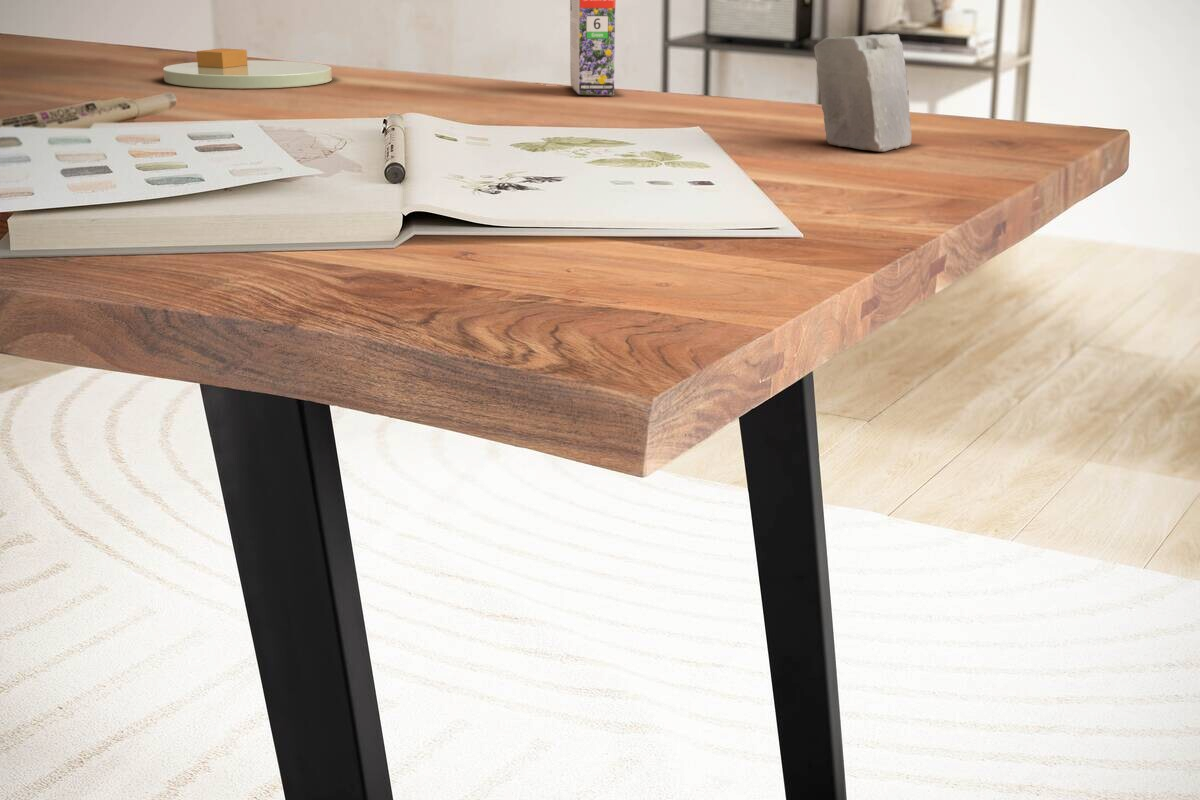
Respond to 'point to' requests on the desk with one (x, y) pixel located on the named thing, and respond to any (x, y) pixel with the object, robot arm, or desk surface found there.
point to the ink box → (592, 46)
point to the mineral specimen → (864, 92)
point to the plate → (249, 75)
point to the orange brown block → (222, 58)
